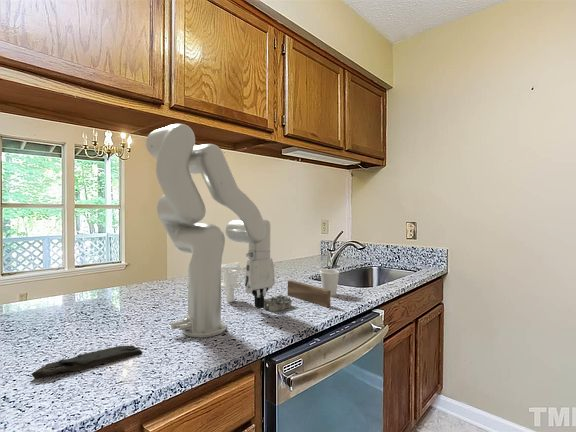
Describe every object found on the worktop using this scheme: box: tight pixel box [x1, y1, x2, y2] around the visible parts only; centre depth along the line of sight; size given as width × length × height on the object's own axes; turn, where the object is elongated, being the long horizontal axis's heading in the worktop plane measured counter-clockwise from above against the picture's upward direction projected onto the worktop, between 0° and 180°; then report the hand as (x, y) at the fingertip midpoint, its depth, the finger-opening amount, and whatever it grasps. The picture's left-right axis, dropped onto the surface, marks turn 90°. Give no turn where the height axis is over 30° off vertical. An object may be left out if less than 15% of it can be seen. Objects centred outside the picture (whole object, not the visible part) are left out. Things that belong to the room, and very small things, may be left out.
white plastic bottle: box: [221, 262, 240, 303], centre depth 128 cm, size 7×7×15 cm
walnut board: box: [287, 280, 332, 308], centre depth 129 cm, size 2×22×6 cm, turn 41°
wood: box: [31, 345, 143, 379], centre depth 76 cm, size 22×7×3 cm, turn 132°
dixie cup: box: [319, 268, 340, 297], centre depth 139 cm, size 8×8×10 cm
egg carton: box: [262, 294, 294, 313], centre depth 120 cm, size 11×8×4 cm
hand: (259, 307), depth 114 cm, fingers closed
